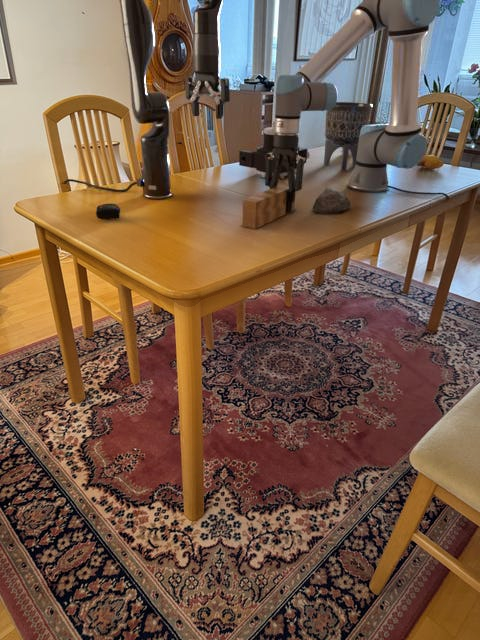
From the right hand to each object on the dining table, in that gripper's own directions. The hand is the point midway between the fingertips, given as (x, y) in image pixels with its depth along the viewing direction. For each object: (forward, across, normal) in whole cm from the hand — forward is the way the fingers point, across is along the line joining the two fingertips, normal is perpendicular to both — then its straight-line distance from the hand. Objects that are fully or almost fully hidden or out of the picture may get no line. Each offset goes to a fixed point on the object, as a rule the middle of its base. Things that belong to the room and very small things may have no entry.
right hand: (281, 210), depth 147 cm
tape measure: (+1, -38, -39) cm, 54 cm away
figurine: (+1, -22, +111) cm, 113 cm away
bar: (+1, 0, -7) cm, 7 cm away
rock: (+1, +13, +12) cm, 18 cm away
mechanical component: (+1, -28, +49) cm, 57 cm away
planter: (+1, -13, +79) cm, 80 cm away
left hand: (-27, -20, -13) cm, 36 cm away
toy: (+1, +20, +103) cm, 105 cm away
